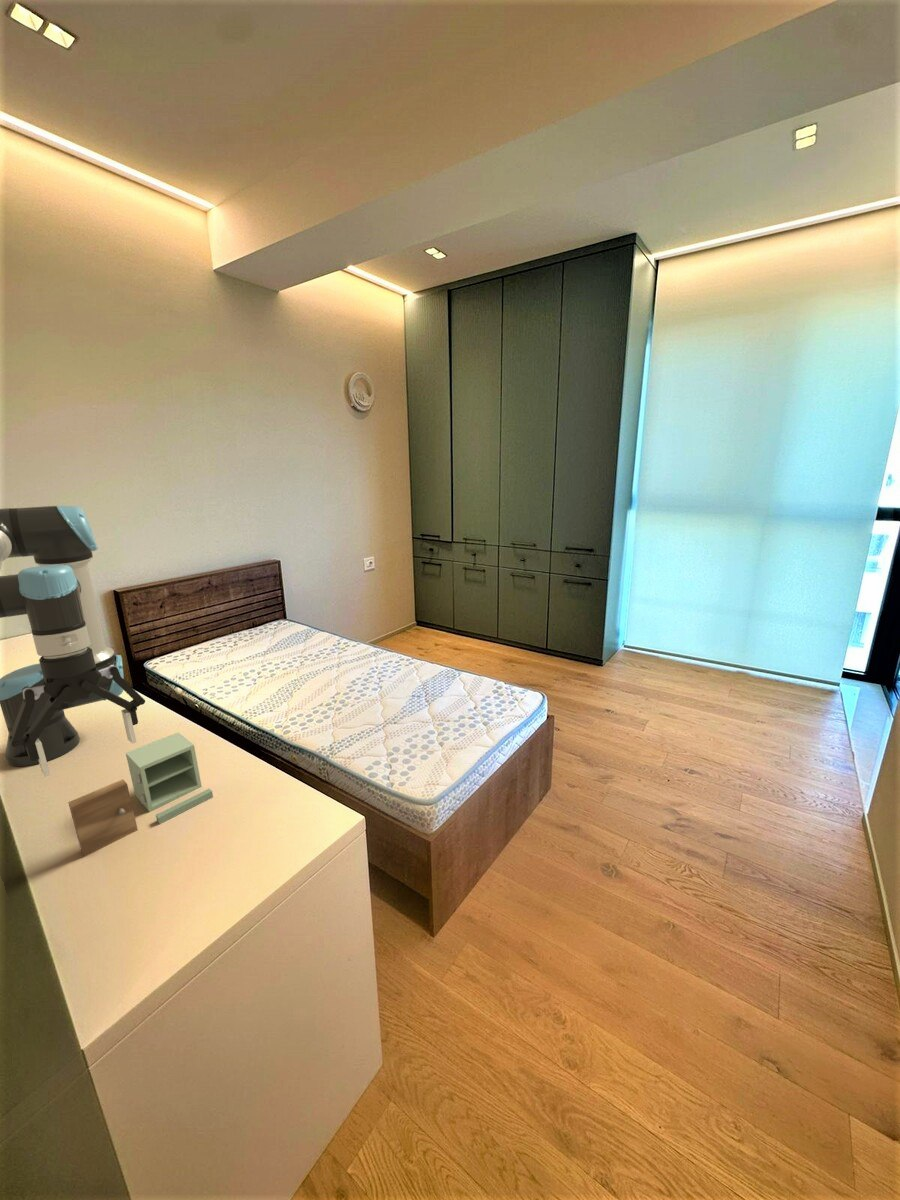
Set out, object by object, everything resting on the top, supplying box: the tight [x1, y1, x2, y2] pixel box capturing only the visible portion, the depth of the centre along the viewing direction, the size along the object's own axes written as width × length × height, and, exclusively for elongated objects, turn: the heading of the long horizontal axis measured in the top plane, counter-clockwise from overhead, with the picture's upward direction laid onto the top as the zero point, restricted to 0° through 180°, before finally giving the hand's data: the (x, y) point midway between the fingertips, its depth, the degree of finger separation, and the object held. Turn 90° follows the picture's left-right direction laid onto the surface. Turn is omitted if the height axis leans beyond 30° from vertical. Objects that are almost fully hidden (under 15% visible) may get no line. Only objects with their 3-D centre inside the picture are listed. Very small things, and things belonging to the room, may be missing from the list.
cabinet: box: [125, 731, 214, 825], centre depth 105 cm, size 15×12×11 cm
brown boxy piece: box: [67, 778, 139, 857], centre depth 92 cm, size 4×9×11 cm, turn 140°
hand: (91, 756), depth 90 cm, fingers open, 13 cm apart
